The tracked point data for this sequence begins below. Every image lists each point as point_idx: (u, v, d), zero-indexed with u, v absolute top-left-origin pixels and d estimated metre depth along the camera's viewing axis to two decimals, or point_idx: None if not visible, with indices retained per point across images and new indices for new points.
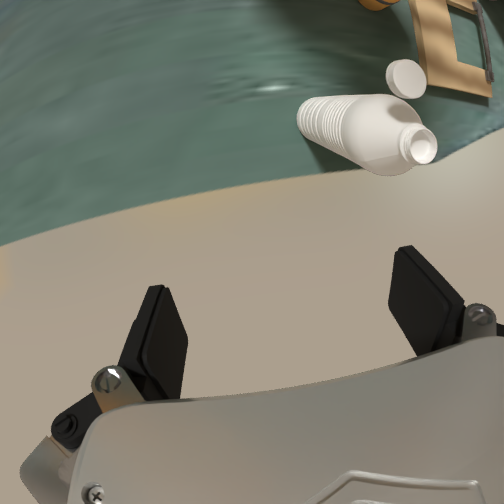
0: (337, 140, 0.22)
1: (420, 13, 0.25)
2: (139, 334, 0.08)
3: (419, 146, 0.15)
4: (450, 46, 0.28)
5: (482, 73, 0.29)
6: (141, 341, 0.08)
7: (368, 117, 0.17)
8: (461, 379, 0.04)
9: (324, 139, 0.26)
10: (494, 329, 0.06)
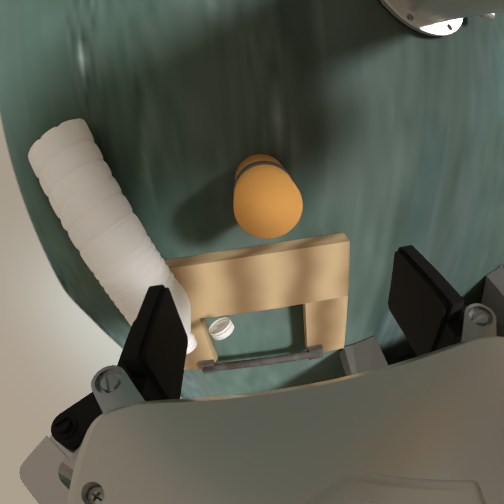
0: (134, 302, 0.23)
1: (253, 260, 0.29)
2: (139, 334, 0.08)
3: None
4: (217, 308, 0.32)
5: (206, 356, 0.35)
6: (141, 341, 0.08)
7: (183, 324, 0.26)
8: (461, 379, 0.04)
9: (100, 263, 0.22)
10: (494, 329, 0.06)
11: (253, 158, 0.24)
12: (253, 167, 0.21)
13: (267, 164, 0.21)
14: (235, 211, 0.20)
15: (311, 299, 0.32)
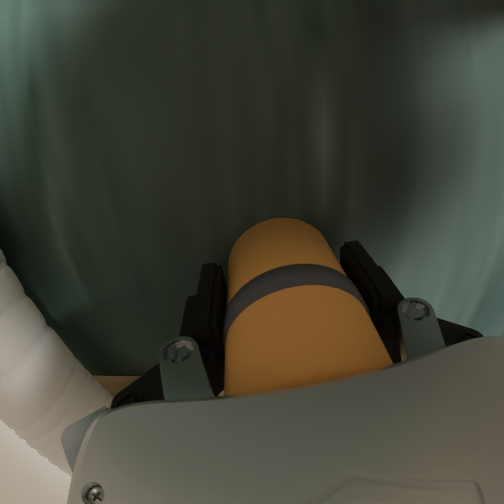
0: None
1: None
2: (204, 305, 0.09)
3: None
4: None
5: None
6: (209, 311, 0.09)
7: None
8: (461, 379, 0.04)
9: (9, 425, 0.08)
10: (434, 319, 0.07)
11: (269, 238, 0.11)
12: (276, 297, 0.08)
13: (315, 286, 0.08)
14: None
15: None
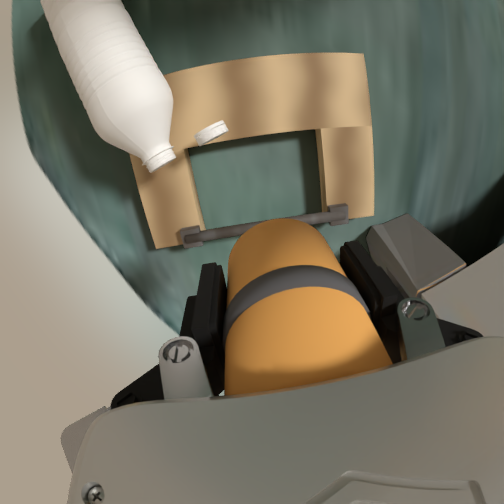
0: (103, 69, 0.14)
1: (254, 62, 0.20)
2: (204, 305, 0.09)
3: None
4: None
5: (189, 219, 0.27)
6: (209, 311, 0.09)
7: (159, 108, 0.17)
8: (461, 379, 0.04)
9: (79, 33, 0.13)
10: (434, 319, 0.07)
11: (270, 239, 0.11)
12: (277, 299, 0.08)
13: (315, 288, 0.08)
14: None
15: (327, 123, 0.23)
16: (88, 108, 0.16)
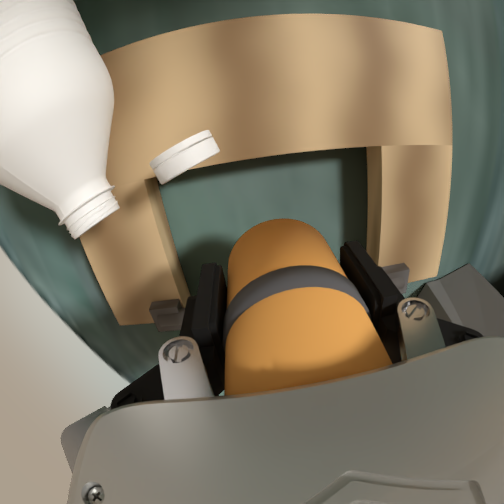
0: None
1: (270, 23, 0.10)
2: (204, 305, 0.09)
3: None
4: None
5: (162, 290, 0.17)
6: (209, 311, 0.09)
7: (73, 113, 0.07)
8: (461, 379, 0.04)
9: None
10: (434, 319, 0.07)
11: (270, 239, 0.11)
12: (277, 299, 0.08)
13: (315, 288, 0.08)
14: None
15: (392, 137, 0.13)
16: None
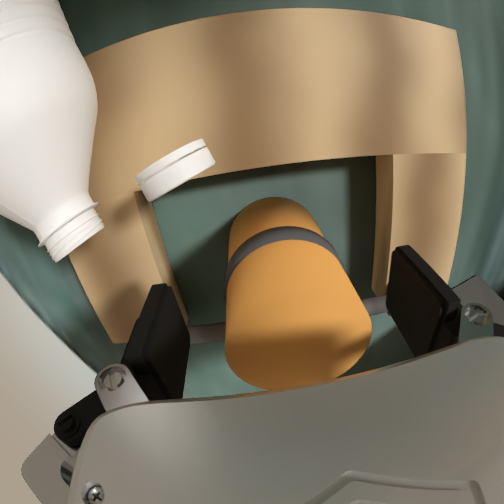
0: None
1: (272, 18, 0.09)
2: (142, 332, 0.08)
3: None
4: None
5: None
6: (145, 339, 0.08)
7: (47, 122, 0.06)
8: (461, 379, 0.04)
9: None
10: (491, 328, 0.06)
11: (263, 211, 0.13)
12: (267, 248, 0.10)
13: (297, 240, 0.10)
14: (229, 358, 0.09)
15: (405, 145, 0.12)
16: None
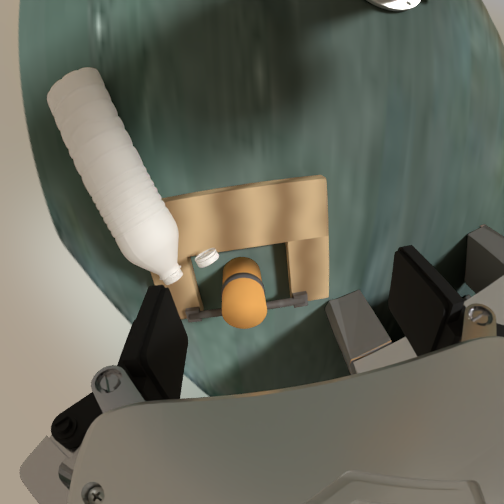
0: (126, 218, 0.25)
1: (238, 193, 0.31)
2: (139, 334, 0.08)
3: None
4: (204, 245, 0.33)
5: (191, 302, 0.37)
6: (141, 341, 0.08)
7: (170, 246, 0.28)
8: (461, 379, 0.04)
9: (101, 180, 0.23)
10: (494, 329, 0.06)
11: (236, 264, 0.35)
12: (235, 280, 0.32)
13: (244, 278, 0.32)
14: (223, 314, 0.30)
15: (293, 237, 0.34)
16: (117, 241, 0.26)
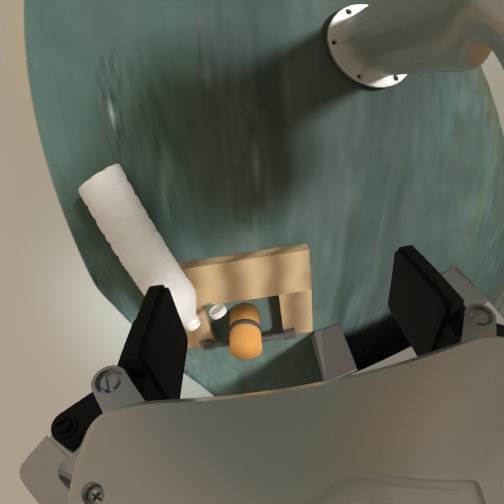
0: None
1: (240, 263, 0.41)
2: (139, 334, 0.08)
3: None
4: (215, 298, 0.44)
5: (206, 336, 0.47)
6: (141, 341, 0.08)
7: (191, 307, 0.38)
8: (461, 379, 0.04)
9: (136, 265, 0.34)
10: (494, 329, 0.06)
11: (239, 310, 0.45)
12: (239, 325, 0.42)
13: (246, 324, 0.42)
14: (230, 350, 0.41)
15: (283, 292, 0.44)
16: None
